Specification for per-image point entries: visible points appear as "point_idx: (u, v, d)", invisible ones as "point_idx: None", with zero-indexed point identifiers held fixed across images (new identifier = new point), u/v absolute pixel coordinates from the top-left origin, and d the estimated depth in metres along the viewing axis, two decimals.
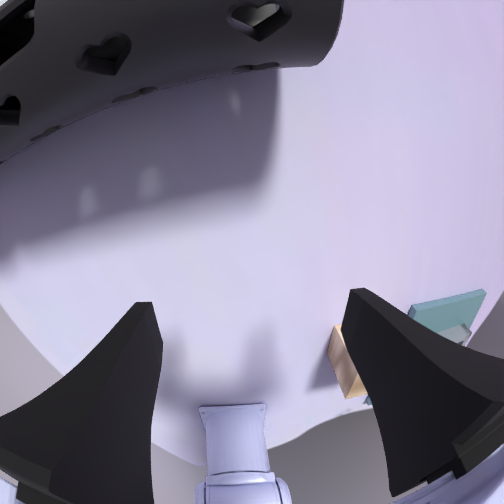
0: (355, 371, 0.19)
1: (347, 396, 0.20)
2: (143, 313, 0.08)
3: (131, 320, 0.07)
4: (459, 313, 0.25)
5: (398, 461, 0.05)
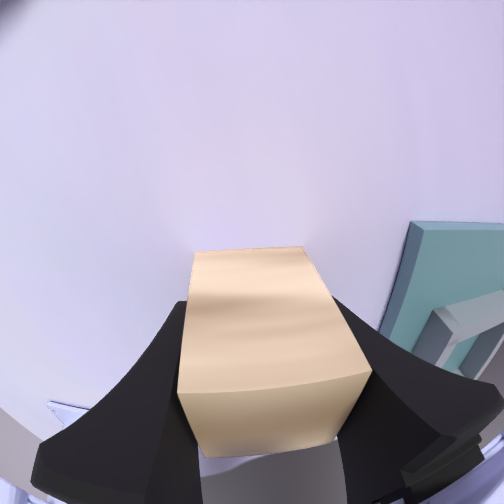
0: None
1: (205, 452, 0.06)
2: None
3: (180, 320, 0.07)
4: (503, 263, 0.11)
5: (354, 477, 0.05)
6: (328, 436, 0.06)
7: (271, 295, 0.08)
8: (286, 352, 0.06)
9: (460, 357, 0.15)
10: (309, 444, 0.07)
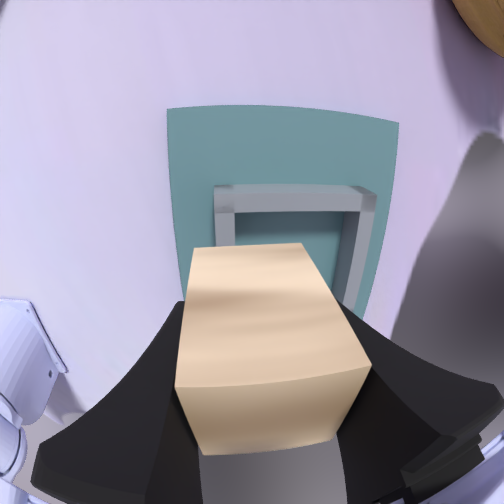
0: None
1: (204, 449, 0.06)
2: None
3: (180, 320, 0.07)
4: (325, 148, 0.15)
5: (353, 478, 0.05)
6: (328, 433, 0.06)
7: (269, 290, 0.07)
8: (285, 346, 0.06)
9: (321, 275, 0.18)
10: (309, 441, 0.07)
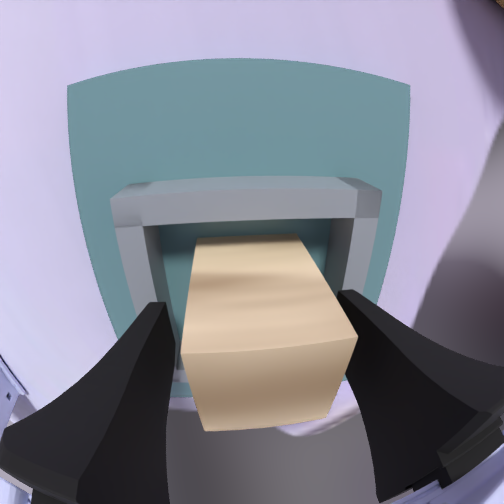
0: None
1: (205, 424, 0.07)
2: (158, 313, 0.08)
3: (147, 320, 0.07)
4: (296, 118, 0.09)
5: (384, 467, 0.05)
6: (322, 409, 0.07)
7: (266, 273, 0.08)
8: (279, 318, 0.06)
9: None
10: (304, 418, 0.07)
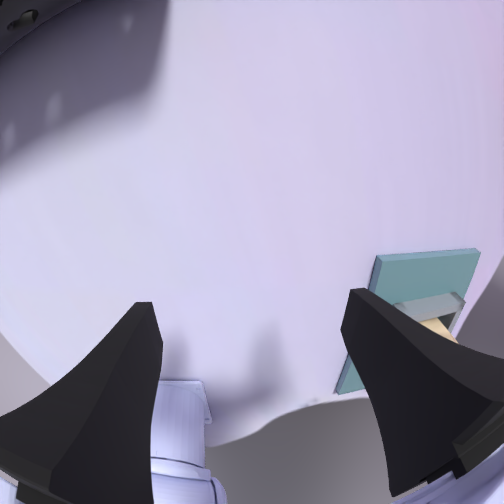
0: None
1: None
2: (143, 313, 0.08)
3: (131, 320, 0.07)
4: (446, 276, 0.21)
5: (398, 461, 0.05)
6: None
7: None
8: None
9: None
10: None
